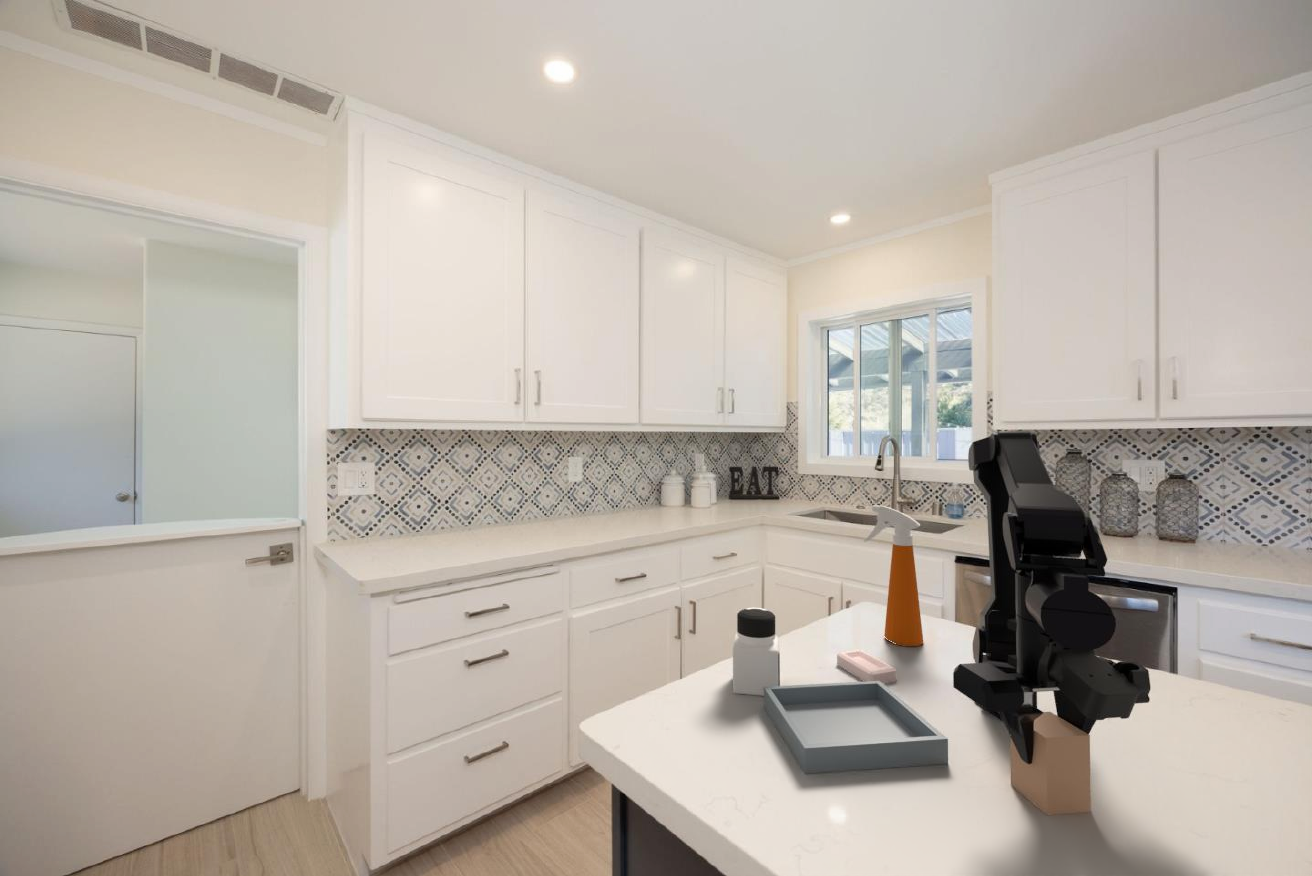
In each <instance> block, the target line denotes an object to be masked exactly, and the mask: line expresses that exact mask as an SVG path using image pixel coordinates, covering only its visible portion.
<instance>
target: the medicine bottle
mask: <svg viewBox="0 0 1312 876" xmlns="http://www.w3.org/2000/svg"><path fill="white" fill-rule="evenodd" d="M736 614H737V615H736V617H737V618H736V620H737V621H736V624H737V626H736V627H737V629H736V631H737V632H736V633H735V634H734V640H733V647H732V691H733V693H734V694H737V695H748V696H762V697H764V687H771V686H781V682H780V681H781V680H780V679H781V676H780V674H781V673H780V672H781V671H780V669H781V668H780V662H781V661H780V658H781V657H780V641H779V640H780V639H779V636H778V635H776V615H775V614H774V613H773V612H772V611H770V610H769V609H767V608H761V607H747V608H744V609H741V610H740V611H739V612H738V613H736Z"/></svg>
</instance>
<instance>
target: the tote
mask: <svg viewBox="0 0 1312 876" xmlns="http://www.w3.org/2000/svg"><path fill="white" fill-rule="evenodd" d="M763 708H764V710H765V712H766V713H767V715H768V716H769V718H770V719H771V722H772V723H773V724H774V726H775V728H776V729H777V731H778V733H779V734H780V735H781V737H782V739H783V741H784V742H785V744H786V746H787V747H788V749H789V750H790V752H791V753H792V755H793V757H794V758H795V760H796V761H797V763H798V765H799V766H800V768H801V769H802V771H803V772H804V773H803V774H804V775H809V774H820V773H821V774H822V773H824V774H825V773H836V772H837V773H838V772H849V771H863V770H875V769H877V770H878V769H879V770H880V769H892V768H893V769H894V768H905V767H919V766H921V767H922V766H936V765H946V764H947V765H948V764H949V738H948V737H947V736H945V735H944V733H942V732H940V731H939V730H938V729H937V728H936V727H935V726H934V725H932V723H930V722H929V721H928V720H926V718H924V717H923V716H922V715H921V714H919V713H918V712H917V711H916V710H915V709H914V708H913V707H911V706H910V705H909V704H907V703H906V701H904V700H903V699H902V698H901V697H900V696H898V695H897V694H896V693H895V692H893V691H892V690H891V688H889V687H887V686H886V685H885V683H882V682H881V681H851V682H848V681H846V682H829V683H813V684H812V683H811V684H793V685H791V684H790V685H780V686H771V687H764V696H763Z"/></svg>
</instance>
